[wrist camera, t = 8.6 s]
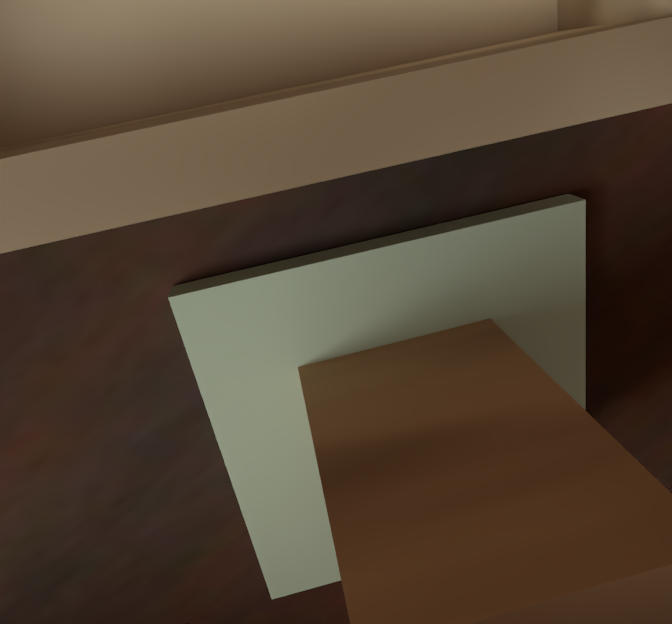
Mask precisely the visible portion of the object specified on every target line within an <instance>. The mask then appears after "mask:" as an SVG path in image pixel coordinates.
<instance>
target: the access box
mask: <svg viewBox="0 0 672 624" xmlns="http://www.w3.org/2000/svg"><path fill="white" fill-rule="evenodd" d="M670 103H672V0H0V254H1V253H5V252H10V251H14V250H19V249H23V248H28V247H32V246H36V245H41V244H45V243H50V242H54V241H59V240H63V239H68V238H72V237H77V236H81V235H86V234H90V233H94V232H99V231H103V230H108V229H112V228H117V227H121V226H126V225H130V224H135V223H139V222H144V221H148V220H152V219H157V218H161V217H166V216H170V215H175V214H179V213H184V212H188V211H193V210H197V209H202V208H206V207H211V206H215V205H219V204H224V203H228V202H233V201H237V200H242V199H246V198H251V197H255V196H260V195H264V194H269V193H273V192H277V191H282V190H286V189H291V188H295V187H300V186H304V185H309V184H313V183H318V182H322V181H327V180H331V179H336V178H340V177H344V176H349V175H353V174H358V173H362V172H367V171H371V170H376V169H380V168H385V167H389V166H394V165H398V164H402V163H407V162H411V161H416V160H420V159H425V158H429V157H434V156H438V155H443V154H447V153H452V152H456V151H461V150H465V149H469V148H474V147H478V146H483V145H487V144H492V143H496V142H501V141H505V140H510V139H514V138H519V137H523V136H527V135H532V134H536V133H541V132H545V131H550V130H554V129H559V128H563V127H568V126H572V125H577V124H581V123H585V122H590V121H594V120H599V119H603V118H608V117H612V116H617V115H621V114H626V113H630V112H635V111H639V110H644V109H648V108H652V107H657V106H661V105H666V104H670Z"/></svg>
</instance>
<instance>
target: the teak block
mask: <svg viewBox="0 0 672 624" xmlns="http://www.w3.org/2000/svg"><path fill="white" fill-rule="evenodd" d="M298 372H299V376H300V381H301V386H302V391H303V396H304V401H305V406H306V411H307V416H308V420H309V425H310V430H311V435H312V440H313V445H314V450H315V455H316V460H317V464H318V469H319V474H320V479H321V484H322V489H323V494H324V499H325V504H326V508H327V513H328V518H329V523H330V528H331V533H332V538H333V543H334V547H335V552H336V557H337V562H338V567H339V572H340V577H341V582H342V587H343V591H344V596H345V601H346V606H347V611H348V616H349V621H350V624H672V494H671V493H670V492H669V491H668V490H667V489H666V488H665V487H664V486H663V485H662V484H661V483H660V482H659V481H658V480H657V479H656V478H655V477H654V476H653V475H652V474H651V473H650V472H649V471H648V470H647V469H646V468H645V467H644V466H642V465H641V464H640V463H639V462H638V461H637V460H636V459H635V458H634V457H633V456H632V455H631V454H630V453H629V452H628V451H627V450H626V449H625V448H624V447H623V446H622V445H621V444H620V443H619V442H618V441H617V440H616V439H615V438H614V437H612V436H611V435H610V434H609V433H608V432H607V431H606V430H605V429H604V428H603V427H602V426H601V425H600V424H599V423H598V422H597V421H596V420H595V419H594V418H593V417H592V416H591V415H590V414H589V413H588V412H587V411H586V410H585V409H583V408H582V407H581V406H580V405H579V404H578V403H577V402H576V401H575V400H574V399H573V398H572V397H571V396H570V395H569V394H568V393H567V392H566V391H565V390H564V389H563V388H562V387H561V386H560V385H559V384H558V383H557V382H556V381H555V380H553V379H552V378H551V377H550V376H549V375H548V374H547V373H546V372H545V371H544V370H543V369H542V368H541V367H540V366H539V365H538V364H537V363H536V362H535V361H534V360H533V359H532V358H531V357H530V356H529V355H528V354H527V353H526V352H524V351H523V350H522V349H521V348H520V347H519V346H518V345H517V344H516V343H515V342H514V341H513V340H512V339H511V338H510V337H509V336H508V335H507V334H506V333H505V332H504V331H503V330H502V329H501V328H500V327H499V326H498V325H497V324H496V323H494V322H493V321H492V320H491V319H486V320H482V321H478V322H474V323H470V324H466V325H462V326H458V327H454V328H450V329H446V330H442V331H439V332H435V333H431V334H427V335H423V336H419V337H415V338H411V339H407V340H403V341H399V342H395V343H391V344H387V345H383V346H379V347H376V348H372V349H368V350H364V351H360V352H356V353H352V354H348V355H344V356H340V357H336V358H332V359H328V360H324V361H320V362H316V363H313V364H309V365H305V366H301V367H298Z"/></svg>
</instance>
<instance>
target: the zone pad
mask: <svg viewBox="0 0 672 624" xmlns="http://www.w3.org/2000/svg"><path fill="white" fill-rule="evenodd" d="M168 299H169V302H170V304H171V307H172V310H173V313H174V316H175V319H176V322H177V325H178V328H179V331H180V334H181V337H182V339H183V342H184V345H185V348H186V351H187V354H188V357H189V360H190V363H191V366H192V369H193V371H194V374H195V377H196V380H197V383H198V386H199V389H200V392H201V395H202V398H203V401H204V403H205V406H206V409H207V412H208V415H209V418H210V421H211V424H212V427H213V430H214V433H215V436H216V438H217V441H218V444H219V447H220V450H221V453H222V456H223V459H224V462H225V465H226V468H227V470H228V473H229V476H230V479H231V482H232V485H233V488H234V491H235V494H236V497H237V500H238V502H239V505H240V508H241V511H242V514H243V517H244V520H245V523H246V526H247V529H248V532H249V534H250V537H251V540H252V543H253V546H254V549H255V552H256V555H257V558H258V561H259V564H260V567H261V569H262V572H263V575H264V578H265V581H266V584H267V587H268V590H269V593H270V596H271V599H275V598H279V597H283V596H286V595H290V594H294V593H297V592H301V591H304V590H308V589H312V588H315V587H319V586H322V585H326V584H330V583H333V582H337V581H340V580H341V577H340V572H339V567H338V562H337V557H336V552H335V547H334V543H333V538H332V533H331V528H330V523H329V518H328V513H327V508H326V504H325V499H324V494H323V489H322V484H321V479H320V474H319V469H318V464H317V460H316V455H315V450H314V445H313V440H312V435H311V430H310V425H309V420H308V416H307V411H306V406H305V401H304V396H303V391H302V386H301V381H300V376H299V372H298V367H301V366H305V365H309V364H313V363H316V362H320V361H324V360H328V359H332V358H336V357H340V356H344V355H348V354H352V353H356V352H360V351H364V350H368V349H372V348H376V347H379V346H383V345H387V344H391V343H395V342H399V341H403V340H407V339H411V338H415V337H419V336H423V335H427V334H431V333H435V332H439V331H442V330H446V329H450V328H454V327H458V326H462V325H466V324H470V323H474V322H478V321H482V320H486V319H491V320H492V321H493V322H494V323H496V324H497V325H498V326H499V327H500V328H501V329H502V330H503V331H504V332H505V333H506V334H507V335H508V336H509V337H510V338H511V339H512V340H513V341H514V342H515V343H516V344H517V345H518V346H519V347H520V348H521V349H522V350H523V351H524V352H526V353H527V354H528V355H529V356H530V357H531V358H532V359H533V360H534V361H535V362H536V363H537V364H538V365H539V366H540V367H541V368H542V369H543V370H544V371H545V372H546V373H547V374H548V375H549V376H550V377H551V378H552V379H553V380H555V381H556V382H557V383H558V384H559V385H560V386H561V387H562V388H563V389H564V390H565V391H566V392H567V393H568V394H569V395H570V396H571V397H572V398H573V399H574V400H575V401H576V402H577V403H578V404H579V405H580V406H581V407H582V408H583V409H585V410H586V200H585V199H582V198H579V197H577V196H574V195H571V194H565V195H561V196H556V197H552V198H548V199H543V200H539V201H535V202H531V203H526V204H522V205H518V206H513V207H509V208H505V209H500V210H496V211H492V212H488V213H483V214H479V215H475V216H470V217H466V218H462V219H458V220H453V221H449V222H445V223H440V224H436V225H432V226H428V227H423V228H419V229H415V230H410V231H406V232H402V233H398V234H393V235H389V236H385V237H380V238H376V239H372V240H368V241H363V242H359V243H355V244H350V245H346V246H342V247H338V248H333V249H329V250H325V251H320V252H316V253H312V254H308V255H303V256H299V257H295V258H290V259H286V260H282V261H278V262H273V263H269V264H265V265H260V266H256V267H252V268H247V269H243V270H239V271H235V272H230V273H226V274H222V275H217V276H213V277H209V278H205V279H200V280H196V281H192V282H187V283H183V284H179V285H175V286H172V287H171V290H170V293H169V297H168Z"/></svg>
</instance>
